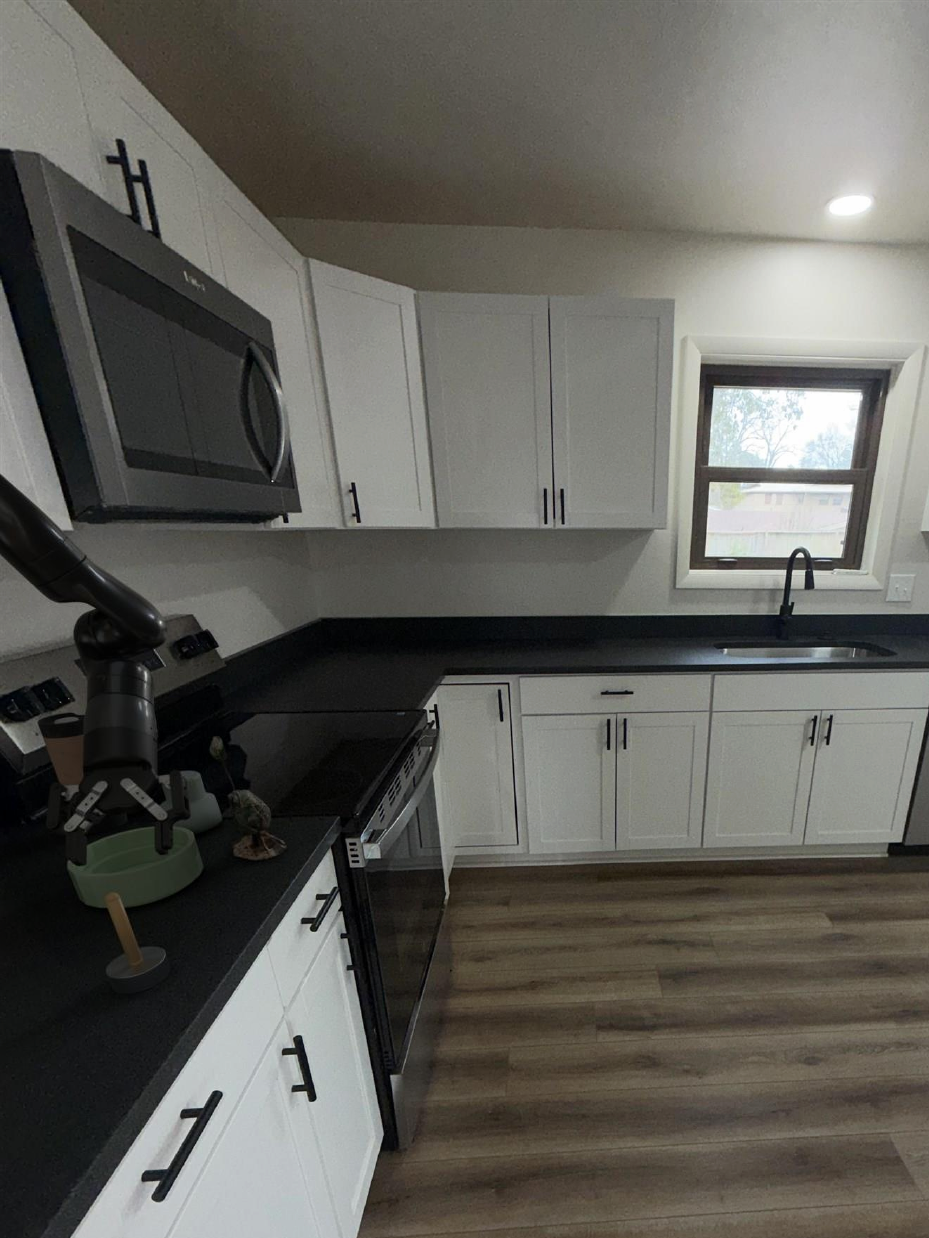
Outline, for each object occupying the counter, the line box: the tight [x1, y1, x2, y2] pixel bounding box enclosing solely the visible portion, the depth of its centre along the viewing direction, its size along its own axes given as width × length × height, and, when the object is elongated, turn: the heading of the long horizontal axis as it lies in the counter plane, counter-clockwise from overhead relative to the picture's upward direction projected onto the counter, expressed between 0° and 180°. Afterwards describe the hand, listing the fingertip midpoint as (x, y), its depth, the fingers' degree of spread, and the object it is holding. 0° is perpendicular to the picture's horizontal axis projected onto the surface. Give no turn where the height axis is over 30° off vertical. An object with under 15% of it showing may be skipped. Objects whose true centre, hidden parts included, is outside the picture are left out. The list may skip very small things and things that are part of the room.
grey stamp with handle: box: [105, 893, 172, 995], centre depth 76 cm, size 6×6×12 cm
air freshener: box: [159, 770, 223, 835], centre depth 113 cm, size 11×8×10 cm
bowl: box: [66, 826, 204, 909], centre depth 97 cm, size 16×16×6 cm
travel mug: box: [37, 711, 129, 834], centre depth 113 cm, size 8×8×20 cm
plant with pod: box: [209, 735, 288, 862], centre depth 103 cm, size 8×11×20 cm
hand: (120, 858), depth 77 cm, fingers open, 8 cm apart
